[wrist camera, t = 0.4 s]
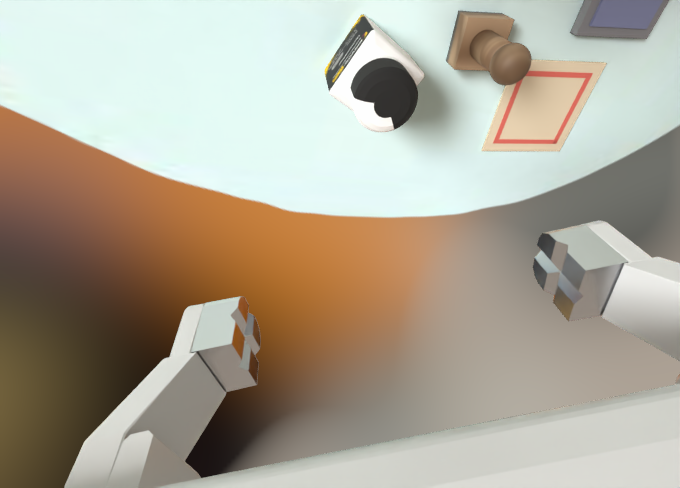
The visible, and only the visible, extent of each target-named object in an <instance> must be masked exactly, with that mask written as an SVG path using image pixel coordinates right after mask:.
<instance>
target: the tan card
mask: <svg viewBox="0 0 680 488" xmlns="http://www.w3.org/2000/svg"><path fill="white" fill-rule="evenodd" d="M606 64H607V63H605V62H579V61H553V60H531V66H530V69H529V71H528V73H527V74H526V76H525V77H524V78H523V79H522V80H520V81H519V82H517V83H515V84H512V85H505V88H504V91H503V94H502V96H501V99H500V102H499V104H498V107H497V110H496V112H495V115H494V118H493V121H492V123H491V126H490V129H489V131H488V134H487V137H486V139H485V142H484V145H483V148H482V151H560V149H561V147H562V146H563V144H564V142H565V140H566V138H567V136H568V134H569V133H570V131H571V129H572V127H573V125H574V123H575V121H576V120H577V118H578V116H579V114H580V112H581V110H582V108H583V107H584V105H585V103H586V101H587V99H588V97H589V95H590V93H591V92H592V90H593V88H594V86H595V84H596V82H597V80H598V79H599V77H600V75H601V73H602V71H603V69H604V67H605V66H606Z"/></svg>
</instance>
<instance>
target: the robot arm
mask: <svg viewBox="0 0 680 488" xmlns="http://www.w3.org/2000/svg"><path fill="white" fill-rule="evenodd" d="M537 246H538V247H539V248H540V249H541V251H540V252H539V253H538V254H537V255H536V257H535V258H534V264H533V270H534V275H535V278H536V280H537V282H538V284H539V285H540V286H541V287H542V289H543V290H544V291H546V292H548V293H550V294H553V295H554V300H553V303H554V304H555V305H556V306H557V308H558V309H559V310H560V312H561V313H562V314H563V315H564V317H565V318H566V319H567V320H568V321H573V320H579V319H585V318H591V317H596V316H602V318H604V319H606V320H607V321H609V322H611V323H613V324H615V325H617V326H618V327H620V328H622V329H623V330H625V331H627V332H629V333H631V334H632V335H634V336H636V337H638V338H639V339H641V340H643V341H645V342H646V343H648V344H650V345H652V346H654V347H655V348H657V349H659V350H661V351H663V352H664V353H666V354H668V355H669V356H671V357H673V358H675V359H677V360H678V361H680V263H677V262H674V261H671V260H668V259H664V258H661V257H655V258H651V257H650V256H649V255H648V254H646V253H645V252H644V251H643V250H641V249H640V248H639V247H638V246H636V245H635V244H634V243H633V242H631V241H630V240H629V239H627V238H626V237H625V236H624V235H622V234H621V233H620V232H618V231H617V230H616V229H615V228H613V227H612V226H611V225H609V224H608V223H607V222H604V221H601V220H599V221H595V222H590V223H585V224H581V225H578V226H573V227H569V228H564V229H559V230H554V231H550V232H545V233H542V234H541V235H540V237H539V239H538V243H537ZM248 308H249V305H248V303H247V301H246V299H245V297H235V298H230V299H224V300H219V301H214V302H208V303H205V304H199V305H194V306H189V307H188V308H187V309H186V310H185V311H184V314H183V317H182V320H181V324H180V326H179V329H178V333H177V336H176V339H175V342H174V345H173V349H172V351H171V354H170V357H169V358H165V359H163V360H162V361H161V362H160V363H159V364H158V365H157V367H156V368H155V369H154V370H153V371H152V372H151V373H150V374H149V375H148V376H147V377H146V378H145V379H144V380H143V381H142V382H141V383H140V384H139V386H137V387H136V389H134V391H133V392H132V393H131V394H130V395H129V396H128V397H127V398H126V399H125V400H124V401H123V402H122V403H121V404H120V405H119V406H118V407H117V408H116V409H115V410H114V411H113V412H112V413H111V415H110V416H109V417H108V418H107V419H106V420H105V421H104V422H103V423H102V424H101V425H100V426H99V427H98V428H97V429H96V430H95V431H94V432H93V433H92V434H91V436H89V437H88V439H87V440H86V441H85V442H84V444H83V446H82V449H81V451H80V453H79V455H78V457H77V460H76V462H75V464H74V467H73V469H72V471H71V473H70V476H69V478H68V480H67V482H66V484H65V487H64V488H680V374H679V375H678V377H677V379H676V385H671V386H666V387H661V388H656V389H651V390H646V391H641V392H636V393H630V394H625V395H621V396H615V397H611V398H605V399H600V400H595V401H590V402H585V403H580V404H575V405H569V406H564V407H559V408H554V409H549V410H544V411H539V412H534V413H529V414H524V415H519V416H514V417H508V418H503V419H498V420H493V421H488V422H483V423H478V424H473V425H468V426H463V427H458V428H453V429H448V430H443V431H438V432H433V433H428V434H423V435H418V436H412V437H407V438H403V439H398V440H392V441H387V442H382V443H377V444H372V445H367V446H362V447H357V448H352V449H347V450H342V451H337V452H332V453H326V454H321V455H316V456H311V457H306V458H301V459H297V460H291V461H287V462H281V463H276V464H271V465H266V466H261V467H256V468H251V469H246V470H241V471H236V472H231V473H226V474H220V475H215V476H211V477H205V478H201V477H200V476H199V475H198V473H197V472H196V471H195V470H193V469H192V468H191V467H190V466H189V465H188V464H187V463H185V462H184V461H185V460H186V458H187V456H188V455H189V453H190V451H191V450H192V448H193V447H194V445H195V443H196V442H197V440H198V438H199V437H200V435H201V434H202V432H203V431H204V429H205V427H206V426H207V424H208V422H209V421H210V419H211V417H212V416H213V414H214V413H215V411H216V410H217V407H218V406H219V405H220V403H221V401H222V400H223V398H224V397H225V395H226V392H228V391H232V390H236V389H240V388H245V387H249V386H254V385H257V376H258V365H259V362H258V360H257V359H256V357H255V354H256V353H257V352H258V351H259V349H260V331H259V326H258V324H257V321H256V319H255V316H253V315H251V314H249V313H248Z"/></svg>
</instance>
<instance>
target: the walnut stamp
mask: <svg viewBox="0 0 680 488" xmlns="http://www.w3.org/2000/svg"><path fill="white" fill-rule="evenodd" d="M513 22H514V19H512V18H510V17H508V16H506V15H504V14H502V13H487V12H469V11H458V15H457V19H456V23H455V27H454V31H453V35H452V39H451V43H450V47H449V51H448V55H447V59H446V61H447V62H448V63H449V64H450V65H451V66H452V67H453V68H454V69H456V70H486V71H489V72H490V75H491V77H492V79H493V80H494V81H495V82H497V83H498V84H501V85H512V84H515V83H517V82H519V81H520V80H522V79H523V78H524V77H525V76H526V74H527V73H528V71H529V69H530V66H531V54H530V52H529V50H528V49H527V47H525V46H524V45H522V44H520V43H512V42H510V41H508V37H509V34H510V31H511V28H512V25H513Z"/></svg>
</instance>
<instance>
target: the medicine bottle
mask: <svg viewBox="0 0 680 488" xmlns="http://www.w3.org/2000/svg"><path fill="white" fill-rule="evenodd" d="M325 75H326V80H327V84H328V88H329V93H330V95H331V96H333V97H334V98H335V99H337V100H338V101H340V102H341V103H342V104H344V105H345V106H347V107H348V108H350V109H351V110H352V111H354V112H355V115H356V117H357V119H358V121H359V122H360V123H361V124H362V125H363V126H364V127H365V128H367V129H369V130H372V131H375V132H388V131H392V130H394V129H396V128H398V127H400V126H402V125H403V124H404V123H405V122H406V121H407V120H408V119H409V118H410V117H411V115H412V114H413V112H414V110H415V108H416V104H417V100H418V91H417V86H418V84H419V83H420V82H421V81H422V80H423V78H424V73H423V71H422V70H421V69H420V68H419V66H418V65H417V64H416V63H415V62H414V60H413V59H412V58H411V57H410V55H409V54H408V53H407V52H406V51H405V50H403V49H402V48H401V47H400V46H399V45H398V44H397V43H396V42H394V41H393V40H392V39H391V38H390V37H389V36H388V35H387V34H386V33H384V32H383V31H382V30H381V29H380V28H379V27H378V26H377V25H375V24H374V23H373V22H372V21H371V20H370V19H369V18H368V17H367V16H365V15H364V14H363V15H361V16H360V17H359V19H358V20H357V22H356V23H355V25H354V26H353V28H352V29H351V31H350V32H349V34H348V35H347V37H346V38H345V40H344V41H343V43H342V44H341V46H340V47H339V49H338V50H337V52H336V53H335V55H334V56H333V58H332V60H331V61H330V63H329V64H328V66H327V67H326V69H325Z"/></svg>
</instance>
